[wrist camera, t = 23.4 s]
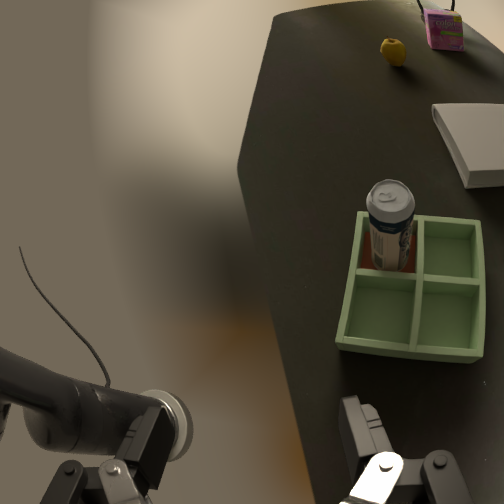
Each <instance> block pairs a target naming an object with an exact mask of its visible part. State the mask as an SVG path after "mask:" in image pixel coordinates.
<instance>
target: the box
mask: <svg viewBox="0 0 504 504" xmlns="http://www.w3.org/2000/svg"><path fill="white" fill-rule="evenodd" d="M423 11H424V17H425V23H426V30H427V38H428V43H429V45H430V47H431V49H440V50H452V51H462V52H464V42H463V28H462V18H461V16H460V15H459V14H458V13H457V12H456V11H447V10H435V9H423Z"/></svg>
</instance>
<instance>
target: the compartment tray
mask: <svg viewBox="0 0 504 504" xmlns="http://www.w3.org/2000/svg"><path fill="white" fill-rule="evenodd" d="M371 253H372V249H371V236H370V224H369V214H368V212H357V221H356V228H355V236H354V243H353V249H352V256H351V262H350V268H349V274H348V280H347V286H346V291H345V296H344V301H343V307H342V312H341V316H340V321H339V326H338V330H337V335H336V339H335V343H336V345H337V347H338V348H339V350H345V351H352V352H358V353H366V354H373V355H381V356H389V357H398V358H407V359H417V360H428V361H440V362H454V363H473V362H475V361H477V360H478V359H480V358H482V357H483V351H484V338H485V317H486V284H485V263H484V250H483V240H482V231H481V223H480V221H478V220H467V219H457V218H445V217H433V216H422V215H414V219H413V228H412V236H411V243H410V250H409V257H408V261H407V263H406V265H405V267H404V268H403V269H401V270H400V271H398V272H392V271H381V270H378V269H377V268H376V267H375V266H374V264H373V262H372V258H371Z"/></svg>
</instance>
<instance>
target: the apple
mask: <svg viewBox="0 0 504 504" xmlns="http://www.w3.org/2000/svg"><path fill="white" fill-rule="evenodd" d="M387 38H388V39H386V40H384V42H383V43H382V45H381V53H382V55H383V56H384V58H385V59H386V61H387V62H388V63H390V64H391V65H394V66H401V65H402V64H403V63H404V61H405V58H406V49H405V47H404V45H403V44H402V43H401V42H400V41H398V40H396V39H389V37H388V36H387Z"/></svg>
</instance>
